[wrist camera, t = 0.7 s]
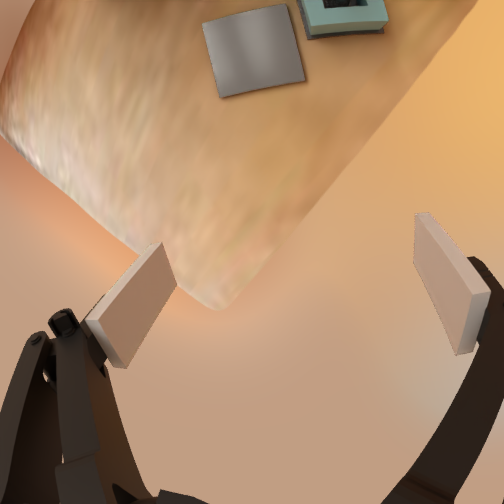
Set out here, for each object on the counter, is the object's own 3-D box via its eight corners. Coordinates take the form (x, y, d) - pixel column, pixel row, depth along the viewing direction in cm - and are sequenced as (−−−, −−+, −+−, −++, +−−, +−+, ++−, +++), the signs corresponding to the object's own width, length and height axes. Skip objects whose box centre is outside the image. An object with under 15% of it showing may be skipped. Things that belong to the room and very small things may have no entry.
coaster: (203, 24, 32) (201, 23, 31) (286, 5, 29) (285, 3, 29) (221, 97, 37) (219, 97, 36) (305, 80, 34) (305, 80, 33)
